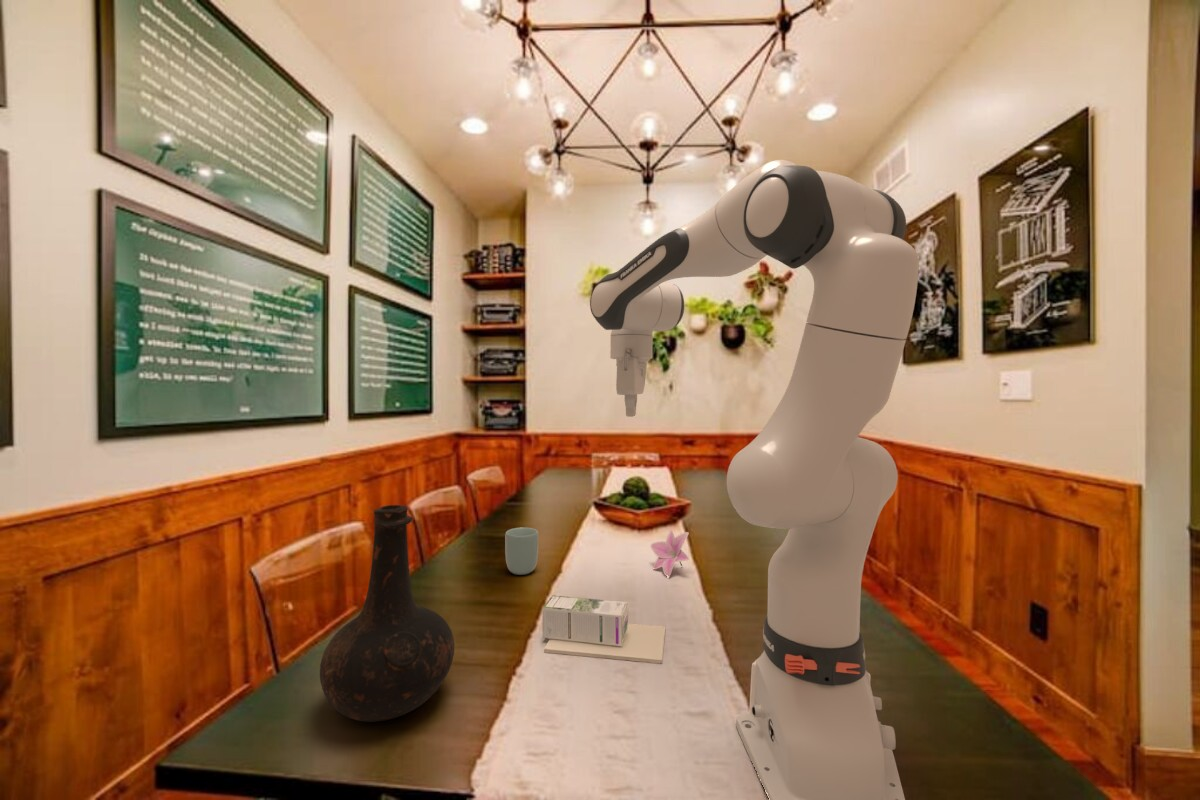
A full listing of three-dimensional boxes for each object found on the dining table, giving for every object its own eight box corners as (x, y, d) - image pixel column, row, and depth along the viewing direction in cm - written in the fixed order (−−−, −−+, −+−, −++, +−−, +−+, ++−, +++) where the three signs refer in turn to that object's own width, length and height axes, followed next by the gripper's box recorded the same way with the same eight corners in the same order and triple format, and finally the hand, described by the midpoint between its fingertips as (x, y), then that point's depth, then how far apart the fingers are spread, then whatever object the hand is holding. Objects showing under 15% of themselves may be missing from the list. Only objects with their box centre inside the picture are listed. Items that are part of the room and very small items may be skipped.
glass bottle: (325, 762, 62) (323, 531, 61) (315, 689, 77) (314, 502, 76) (471, 713, 71) (470, 512, 71) (436, 656, 86) (436, 490, 86)
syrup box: (542, 639, 91) (622, 649, 88) (542, 606, 91) (623, 615, 88) (551, 623, 97) (628, 632, 94) (552, 593, 97) (628, 601, 93)
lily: (650, 564, 135) (638, 536, 131) (691, 547, 135) (680, 518, 132) (663, 596, 124) (650, 566, 120) (708, 576, 124) (697, 546, 120)
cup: (544, 570, 127) (544, 530, 127) (523, 580, 121) (523, 538, 120) (520, 564, 131) (520, 525, 131) (498, 573, 125) (498, 532, 125)
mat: (662, 663, 84) (662, 660, 84) (544, 652, 88) (544, 648, 88) (665, 629, 96) (665, 626, 96) (561, 621, 100) (561, 617, 100)
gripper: (641, 346, 97) (641, 419, 98) (650, 353, 117) (649, 414, 118) (608, 346, 98) (608, 419, 99) (622, 353, 119) (622, 413, 119)
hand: (630, 416), depth 108 cm, fingers closed
